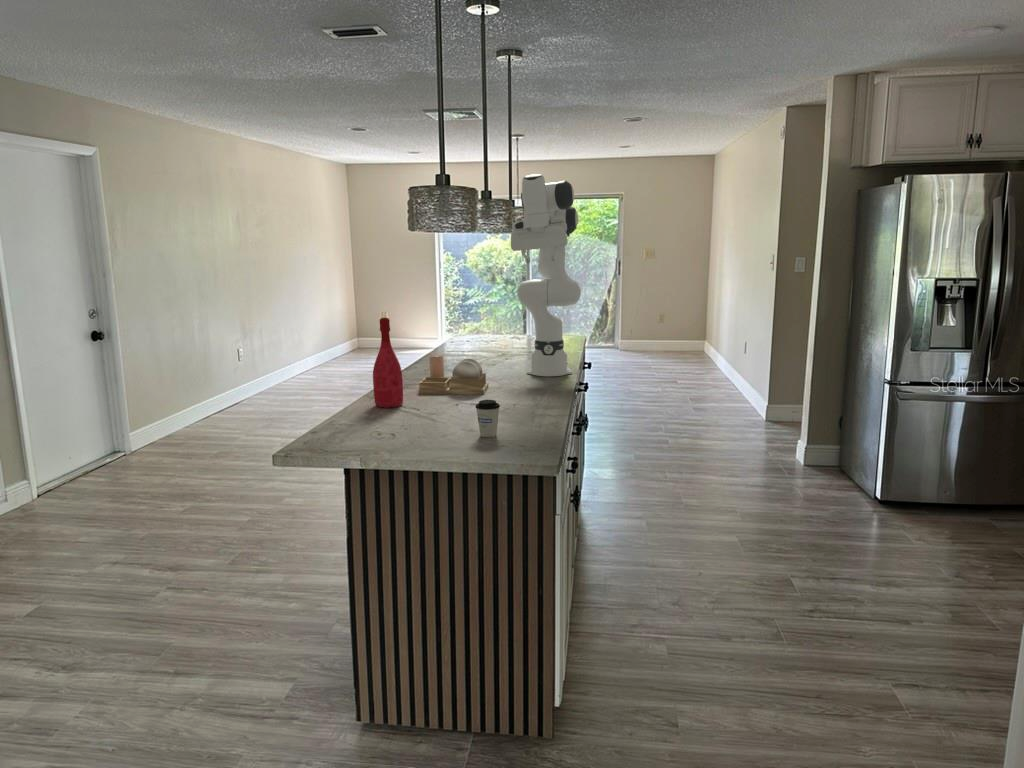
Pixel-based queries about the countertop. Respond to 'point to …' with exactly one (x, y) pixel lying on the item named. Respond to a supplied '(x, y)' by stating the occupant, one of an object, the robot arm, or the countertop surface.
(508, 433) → the countertop surface
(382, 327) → the wine bottle
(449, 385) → the rack
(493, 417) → the coffee cup
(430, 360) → the peach rounded cylinder
